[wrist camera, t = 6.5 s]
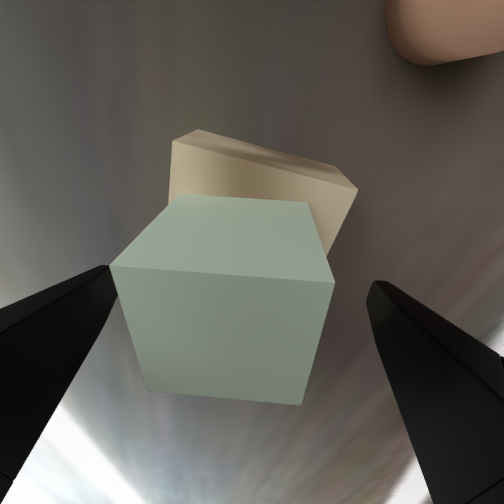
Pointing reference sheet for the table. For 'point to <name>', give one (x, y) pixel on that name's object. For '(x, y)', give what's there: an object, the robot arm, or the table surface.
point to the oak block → (260, 178)
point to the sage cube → (226, 298)
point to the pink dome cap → (444, 29)
